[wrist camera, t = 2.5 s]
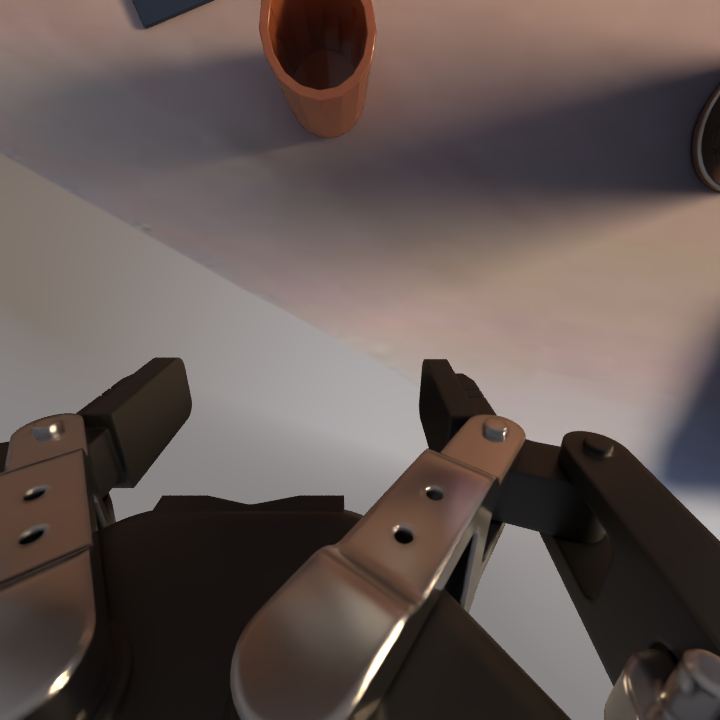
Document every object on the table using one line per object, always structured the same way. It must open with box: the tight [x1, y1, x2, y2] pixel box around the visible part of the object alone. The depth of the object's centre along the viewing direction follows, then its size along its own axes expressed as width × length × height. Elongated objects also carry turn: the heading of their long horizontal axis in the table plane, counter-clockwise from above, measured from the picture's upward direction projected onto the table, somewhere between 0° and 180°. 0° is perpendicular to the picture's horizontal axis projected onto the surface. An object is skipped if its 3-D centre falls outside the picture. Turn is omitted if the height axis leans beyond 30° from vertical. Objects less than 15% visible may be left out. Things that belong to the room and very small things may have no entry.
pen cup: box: [259, 0, 376, 138], centre depth 22 cm, size 6×6×10 cm
